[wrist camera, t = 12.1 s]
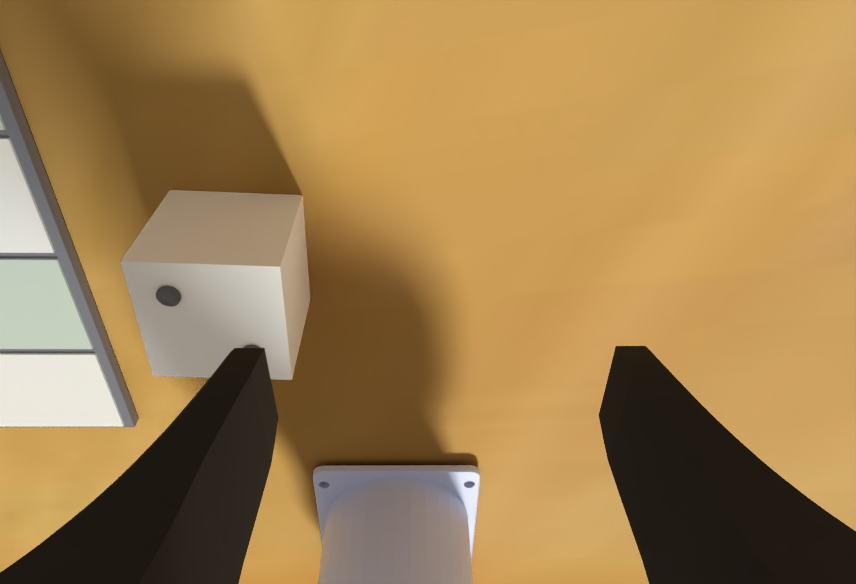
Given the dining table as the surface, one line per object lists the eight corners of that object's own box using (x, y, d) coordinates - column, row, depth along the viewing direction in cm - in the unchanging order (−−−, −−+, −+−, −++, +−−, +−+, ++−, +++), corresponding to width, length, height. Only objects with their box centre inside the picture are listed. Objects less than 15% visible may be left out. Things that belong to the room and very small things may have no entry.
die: (310, 298, 24) (291, 382, 20) (190, 294, 24) (148, 378, 20) (303, 194, 21) (279, 268, 18) (167, 188, 21) (115, 262, 18)
